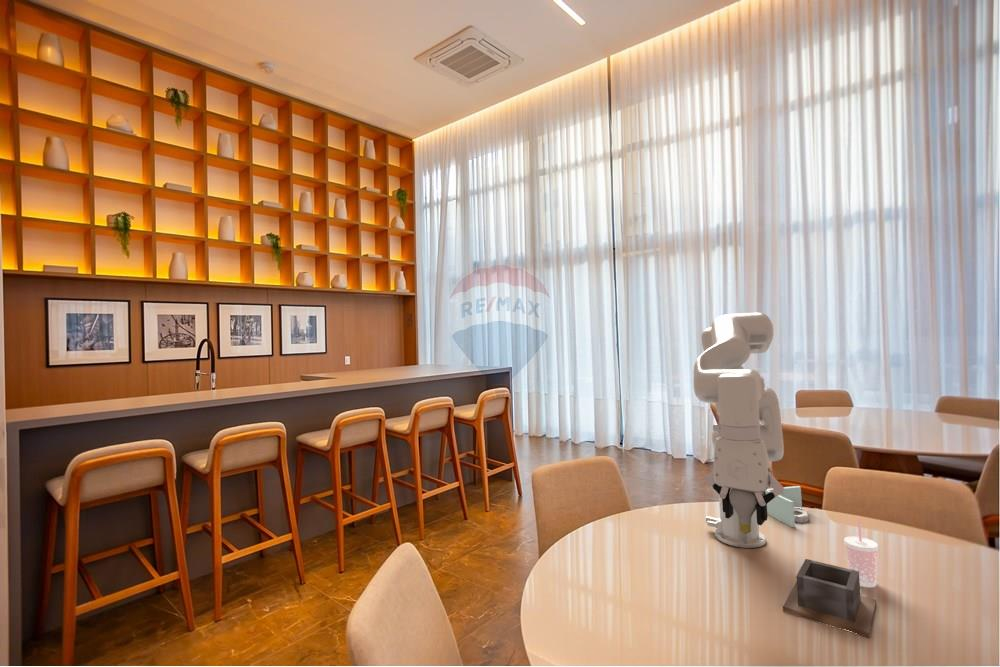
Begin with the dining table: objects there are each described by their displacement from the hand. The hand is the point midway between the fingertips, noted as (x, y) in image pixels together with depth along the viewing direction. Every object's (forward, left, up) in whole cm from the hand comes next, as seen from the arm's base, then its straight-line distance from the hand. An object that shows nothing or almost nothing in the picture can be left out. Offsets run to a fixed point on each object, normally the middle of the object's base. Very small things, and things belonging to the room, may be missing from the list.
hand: (745, 518), depth 97 cm
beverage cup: (+16, +27, -19) cm, 37 cm away
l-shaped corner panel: (-3, +60, -19) cm, 63 cm away
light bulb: (0, 0, -3) cm, 3 cm away
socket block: (+12, +11, -19) cm, 25 cm away
